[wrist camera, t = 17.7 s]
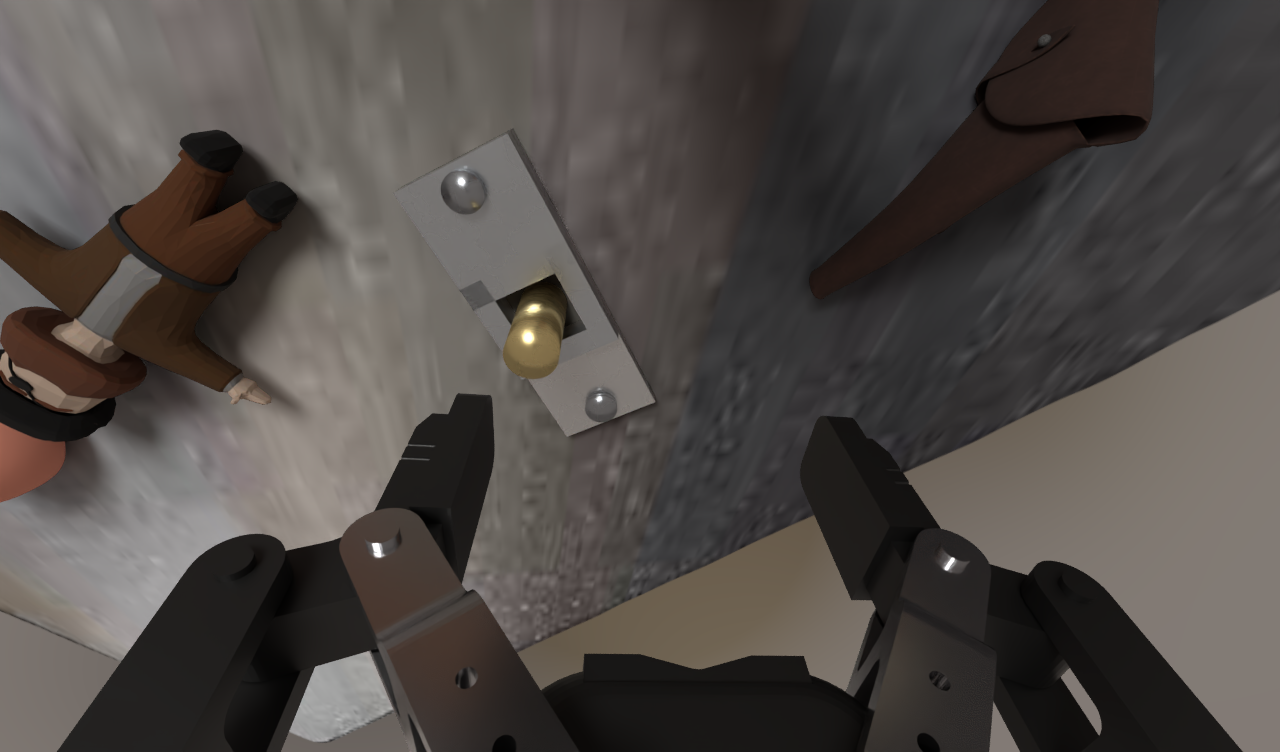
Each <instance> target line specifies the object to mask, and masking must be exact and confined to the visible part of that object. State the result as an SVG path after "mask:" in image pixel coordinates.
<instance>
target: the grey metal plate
mask: <svg viewBox="0 0 1280 752" xmlns="http://www.w3.org/2000/svg"><path fill="white" fill-rule="evenodd" d="M393 194H394V196H395V197H396V199H397V200H398V201H399V203H400V204H401V206H402V207H403V209H404V210H405V212H406V213H407V214H408V216H409V217H410V219H411V220H412V222H413V223H414V225H415V226H416V228H417V229H418V230H419V232H420V233H421V235H422V236H423V238H424V239H425V241H426V242H427V243H428V245H429V246H430V248H431V249H432V251H433V252H434V254H435V255H436V257H437V258H438V259H439V261H440V262H441V264H442V265H443V267H444V268H445V270H446V271H447V272H448V274H449V275H450V277H451V278H452V280H453V281H454V283H455V284H456V286H457V287H458V288H459V290H460V291H461V293H462V294H463V296H464V297H465V299H466V300H467V301H468V303H469V304H470V306H471V307H472V309H473V310H474V312H475V313H476V314H477V316H478V317H479V319H480V320H481V322H482V323H483V325H484V326H485V328H486V329H487V330H488V332H489V333H490V335H491V336H492V338H493V339H494V341H495V342H496V343H497V345H498V346H499V348H500V349H501V351H502V352H503V348H504V345H505V342H506V339H507V336H508V334H509V331H510V328H511V325H512V322H513V319H514V316H515V312H514V310H513V308H512V307H511V305H510V304H509V302H508V301H507V299H506V298H505V296H507V295H509V294H511V293H513V292H516V291H518V290H520V289H522V288H524V287H526V286H529V285H531V284H533V283H535V282H537V281H540V280H542V279H544V278H546V277H548V276H550V275H553V274H555V275H556V276H557V278H558V280H559V282H560V283H561V285H562V287H563V289H564V290H565V292H566V294H567V296H568V297H569V299H570V301H571V303H572V304H573V306H574V308H575V310H576V311H577V313H578V315H579V317H580V318H581V320H580V321H577V322H575V323H573V324H571V325H568V326H566V327H564V330H563V337H562V343H561V350H560V356H559V362H558V365H557V367H556V368H555V370H554V371H553V372H552V373H551V374H549V375H548V376H546V377H543V378H539V379H528V380H529V382H530V383H531V384H532V386H533V387H534V389H535V390H536V392H537V393H538V395H539V396H540V398H541V399H542V401H543V402H544V404H545V405H546V407H547V408H548V409H549V411H550V412H551V414H552V415H553V417H554V418H555V420H556V421H557V423H558V424H559V426H560V427H561V429H562V430H563V431H564V433H565V434H566V436H567V437H568V436H570V435H573V434H576V433H578V432H581V431H583V430H586V429H588V428H591V427H593V426H596V425H598V424H601V423H603V422H607V421H609V420H611V419H614V418H616V417H619V416H621V415H624V414H626V413H629V412H631V411H634V410H637V409H639V408H642V407H644V406H647V405H649V404H652V403H654V402H655V395H654V393H653V391H652V389H651V387H650V386H649V384H648V382H647V380H646V378H645V376H644V374H643V372H642V371H641V369H640V367H639V365H638V363H637V361H636V359H635V357H634V355H633V354H632V352H631V350H630V348H629V346H628V344H627V342H626V340H625V339H624V337H623V335H622V333H621V331H620V329H619V327H618V325H617V324H616V322H615V320H614V318H613V316H612V314H611V312H610V310H609V308H608V307H607V305H606V303H605V301H604V299H603V297H602V295H601V293H600V292H599V290H598V288H597V286H596V284H595V282H594V280H593V278H592V276H591V275H590V273H589V271H588V269H587V267H586V265H585V263H584V261H583V260H582V258H581V256H580V254H579V252H578V250H577V248H576V246H575V245H574V243H573V241H572V239H571V237H570V235H569V233H568V231H567V229H566V228H565V226H564V224H563V222H562V220H561V218H560V216H559V214H558V213H557V211H556V209H555V207H554V205H553V203H552V201H551V199H550V197H549V196H548V194H547V192H546V190H545V188H544V186H543V184H542V182H541V181H540V179H539V177H538V175H537V173H536V171H535V169H534V167H533V166H532V164H531V162H530V160H529V158H528V156H527V154H526V152H525V150H524V149H523V147H522V145H521V143H520V141H519V139H518V137H517V135H516V134H515V132H514V130H513V129H511V130H509V131H507V132H505V133H503V134H501V135H499V136H497V137H495V138H493V139H492V140H490V141H488V142H486V143H484V144H482V145H480V146H478V147H476V148H474V149H472V150H471V151H469V152H467V153H465V154H463V155H461V156H459V157H457V158H455V159H453V160H451V161H450V162H448V163H446V164H444V165H442V166H440V167H438V168H436V169H434V170H432V171H430V172H429V173H427V174H425V175H423V176H421V177H419V178H417V179H415V180H413V181H411V182H409V183H408V184H406V185H404V186H402V187H401V188H399V189H398V190H397V191H395V192H394V193H393ZM519 377H520V376H519ZM520 378H521V380H523V379H526V378H523V377H520Z"/></svg>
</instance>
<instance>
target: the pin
mask: <svg viewBox="0 0 1280 752" xmlns="http://www.w3.org/2000/svg"><path fill="white" fill-rule="evenodd" d="M566 311H567V299H566V296H565V294H564V293H563V291H562V290H561V289H560V288H559V287H557V286H556V285H554V284H551V283H548V282H537V283H533V284H531V285H529V286H528V287H527V288H526V289H525V290H524V291H523V293H522V296H521V299H520V301H519V304H518V307H517V310H516V313H515V316H514V319H513V322H512V325H511V328H510V331H509V334H508V336H507V339H506V342H505V345H504V348H503V358H504V361H505V363H506V365H507V367H508V368H509V369H510V370H511V371H512V372H513V373H515V374H516V375H518V376H520V377H523V378H527V379H539V378H543V377H546V376H548V375H549V374H551V373H552V372H553V371H554V370H555V368H556V367H557V365H558V362H559V356H560V350H561V343H562V337H563V330H564V324H565V318H566Z"/></svg>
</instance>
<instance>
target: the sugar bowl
mask: <svg viewBox="0 0 1280 752" xmlns="http://www.w3.org/2000/svg"><path fill="white" fill-rule="evenodd" d="M65 452H66V451H65V441H63V442H52V441H45V440H40V439H36V438H33V437H30V436H28V435H26V434H24V433H21V432H19V431H17V430H14V429H12V428H10V427H8V426H6V425H4V424H2V423H0V502H3V501H6V500H9V499H12V498H15V497H17V496H20V495H22V494H24V493H26V492H29V491H31V490H33V489H35V488H36V487H38V486H40V485H42V484H44V483H45V482H47V481H48V480H49V479H51V478H52V477H53V476H55V475H56V474H57V473H58V472H59V470H60V469H61V467H62V465H63V463H64V460H65Z"/></svg>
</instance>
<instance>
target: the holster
mask: <svg viewBox="0 0 1280 752" xmlns="http://www.w3.org/2000/svg"><path fill="white" fill-rule="evenodd" d="M1158 5H1159V0H1048V1H1047V2H1046V3H1045V4H1044V5H1043V6H1042V7H1041V8H1040V9H1039V10H1038V11H1037V12H1036V13H1035V14H1034V15H1033V17H1032V18H1031V19H1030V20H1029V21H1028V22H1027V23H1026V24H1025V25H1024V26H1023V27H1022V28H1021V30H1020V31H1019V32H1018V33H1017V34H1016V35H1015V37H1014V38H1013V39H1012V40H1011V42H1010V43H1009V44H1008V46H1007V47H1006V49H1005V50H1004V52H1003V53H1002V55H1001V57H1000V58H999V60H998V62H996V63H995V64H994V66H993V67H992V68H991V69H990V71H989V72H988V73H987V74H986V76H985V77H984V78H983V79H982V80H981V82H980V83H979V85H978V86H977V88H976V94H975V95H976V100H977V103H978V105H979V106H978V107H977V108H976V109H975V110H974V111H973V112H972V113H971V114H970V116H969V117H968V118H967V119H966V120H965V121H964V122H963V123H962V125H961V126H960V127H959V128H958V129H957V130H956V131H955V133H954V134H953V135H952V136H951V137H950V138H949V140H948V141H947V142H946V143H945V144H944V145H943V147H942V148H941V149H940V150H939V151H938V152H937V154H936V155H935V156H934V157H933V158H932V159H931V160H930V162H929V163H928V164H927V165H926V166H925V167H924V168H923V169H922V170H921V172H920V173H919V174H918V175H917V176H916V177H915V178H914V179H913V181H912V182H911V183H910V184H909V185H908V186H907V187H906V188H905V189H904V190H903V191H902V192H901V193H900V194H899V195H898V196H897V197H896V198H895V199H894V200H893V201H892V202H891V203H890V204H889V205H888V206H887V207H886V208H885V209H884V210H883V211H882V212H880V213H879V214H878V215H877V216H876V217H875V218H874V219H873V220H872V221H871V222H870V223H868V224H867V225H866V226H865V227H864V228H863V229H862V230H861V231H860V232H858V233H857V234H856V235H855V236H854V237H853V238H852V239H851V240H849V241H848V242H847V243H846V244H845V245H844V246H843V247H842V248H840V249H839V250H838V251H837V252H836V253H835V254H834V255H832V256H831V257H830V258H829V259H828V260H827V261H826V262H824V263H823V264H822V265H821V266H820V267H818V268H817V269H816V270H813V271H812V272H811V274H810V279H809V282H810V287H811V291H812V293H813V295H814V296H815V297H816V298H818V299H823V298H824V297H826V296H827V295H829V294H831V293H833V292H834V291H836V290H838V289H840V288H842V287H844V286H846V285H848V284H850V283H852V282H854V281H856V280H858V279H860V278H862V277H863V276H865V275H867V274H869V273H871V272H873V271H875V270H877V269H879V268H881V267H883V266H884V265H886V264H888V263H890V262H891V261H893V260H895V259H897V258H898V257H900V256H902V255H904V254H905V253H907V252H909V251H910V250H912V249H913V248H915V247H917V246H918V245H920V244H921V243H923V242H925V241H926V240H928V239H929V238H931V237H932V236H934V235H936V234H939V233H941V232H943V231H945V230H946V229H947V228H948V227H950V226H951V225H952V224H953V223H955V222H956V221H958V220H959V219H961V218H962V217H964V216H966V215H967V214H969V213H970V212H972V211H974V210H975V209H977V208H978V207H980V206H981V205H983V204H985V203H986V202H988V201H989V200H991V199H993V198H994V197H996V196H997V195H999V194H1001V193H1002V192H1004V191H1005V190H1007V189H1009V188H1010V187H1012V186H1014V185H1015V184H1017V183H1019V182H1020V181H1022V180H1023V179H1025V178H1027V177H1028V176H1030V175H1032V174H1033V173H1035V172H1037V171H1039V170H1040V169H1042V168H1044V167H1045V166H1047V165H1049V164H1050V163H1052V162H1054V161H1056V160H1057V159H1059V158H1061V157H1062V156H1064V155H1066V154H1068V153H1069V152H1071V151H1073V150H1075V149H1076V148H1086V147H1091V146H1096V147H1099V146H1105V145H1112V144H1118V143H1123V142H1127V141H1131V140H1136V139H1137V138H1138V137H1139V136H1140V135H1141V134H1142V133H1143V132H1144V131H1145V130H1146V129H1147V127H1148V125H1149V122H1150V120H1151V116H1152V108H1153V93H1154V57H1155V31H1156V22H1157V13H1158Z"/></svg>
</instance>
